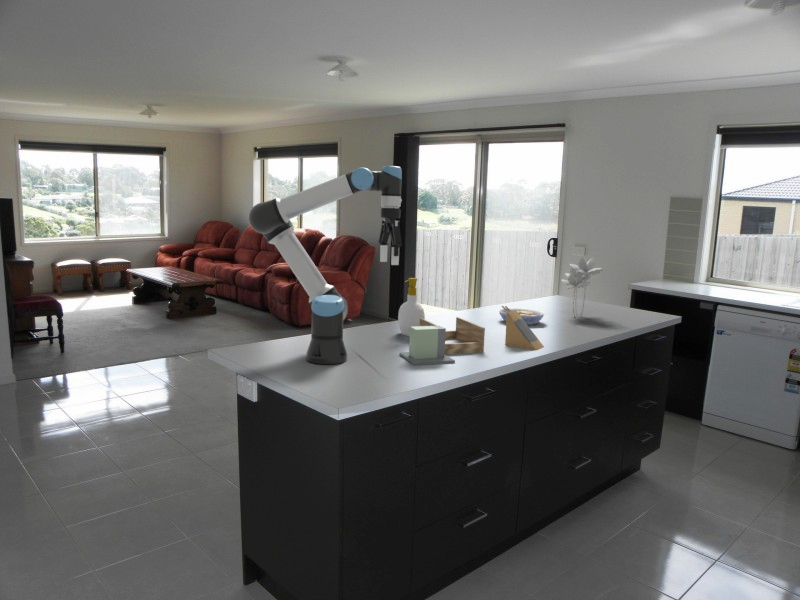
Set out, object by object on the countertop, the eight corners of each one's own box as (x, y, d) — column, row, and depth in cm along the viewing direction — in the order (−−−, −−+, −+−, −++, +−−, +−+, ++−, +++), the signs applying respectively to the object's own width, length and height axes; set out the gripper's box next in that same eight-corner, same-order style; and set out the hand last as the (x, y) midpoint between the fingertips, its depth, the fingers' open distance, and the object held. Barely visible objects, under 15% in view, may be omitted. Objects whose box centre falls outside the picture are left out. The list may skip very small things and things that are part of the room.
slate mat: (414, 365, 215) (414, 362, 215) (399, 355, 230) (399, 352, 229) (454, 362, 220) (454, 360, 220) (437, 353, 235) (437, 350, 235)
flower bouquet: (547, 313, 323) (554, 303, 303) (566, 258, 330) (575, 245, 310) (578, 324, 321) (588, 315, 300) (597, 268, 328) (607, 256, 308)
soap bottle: (391, 334, 268) (393, 277, 264) (405, 332, 274) (407, 276, 270) (414, 340, 258) (416, 280, 254) (428, 337, 264) (431, 279, 260)
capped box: (414, 358, 220) (415, 329, 218) (408, 355, 225) (409, 326, 224) (444, 357, 224) (445, 328, 222) (438, 353, 230) (439, 325, 228)
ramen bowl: (548, 331, 288) (550, 315, 287) (501, 330, 289) (502, 313, 287) (538, 322, 313) (539, 307, 312) (494, 321, 313) (495, 305, 312)
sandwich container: (538, 353, 242) (540, 316, 240) (504, 346, 251) (506, 311, 249) (547, 349, 249) (549, 314, 247) (513, 343, 258) (515, 309, 256)
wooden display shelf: (442, 354, 233) (443, 329, 232) (418, 341, 256) (419, 318, 255) (483, 352, 239) (484, 327, 238) (456, 339, 262) (457, 317, 261)
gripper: (411, 208, 217) (409, 266, 220) (389, 207, 240) (387, 260, 243) (392, 207, 214) (390, 266, 217) (371, 207, 237) (370, 260, 240)
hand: (389, 263), depth 230 cm, fingers open, 13 cm apart
